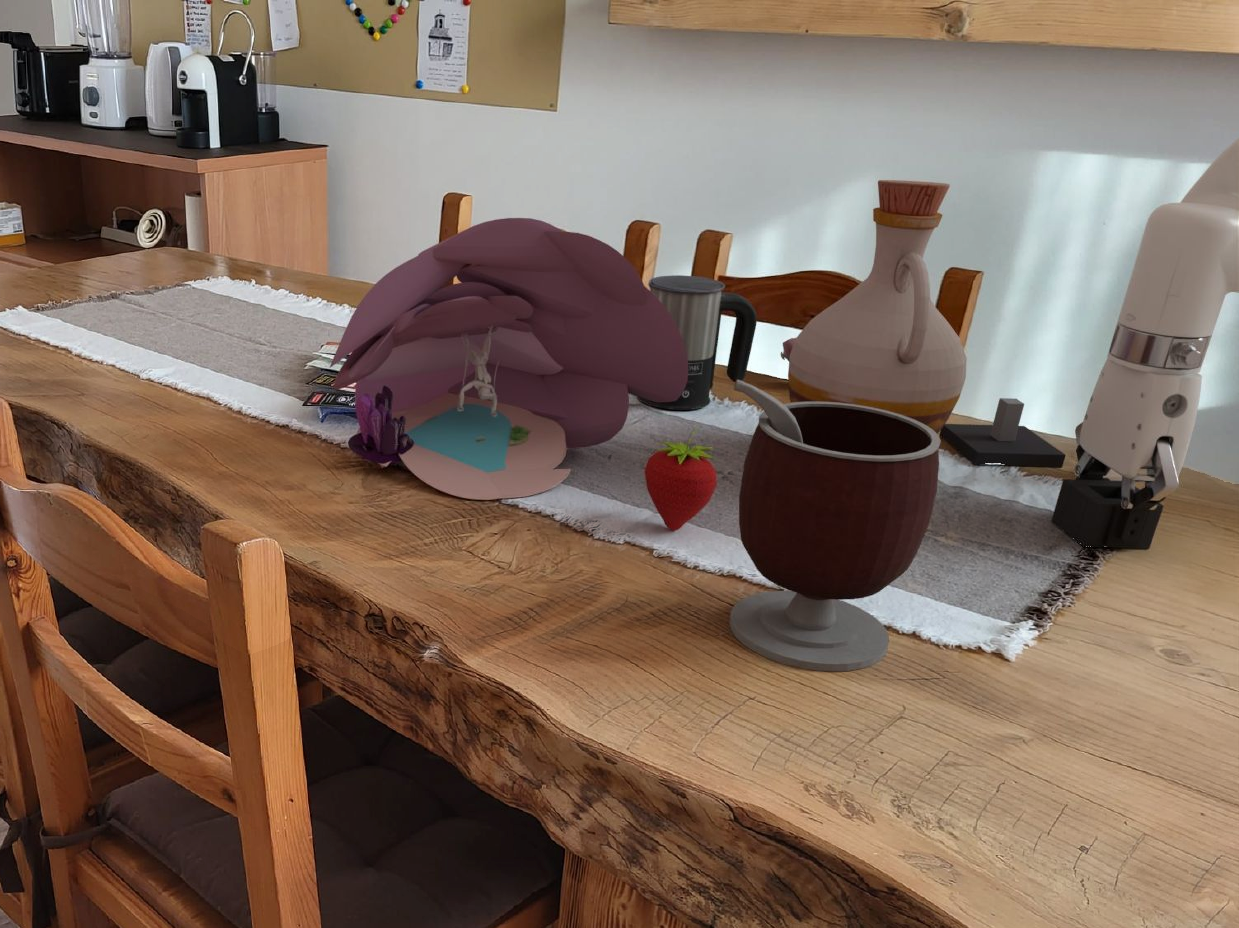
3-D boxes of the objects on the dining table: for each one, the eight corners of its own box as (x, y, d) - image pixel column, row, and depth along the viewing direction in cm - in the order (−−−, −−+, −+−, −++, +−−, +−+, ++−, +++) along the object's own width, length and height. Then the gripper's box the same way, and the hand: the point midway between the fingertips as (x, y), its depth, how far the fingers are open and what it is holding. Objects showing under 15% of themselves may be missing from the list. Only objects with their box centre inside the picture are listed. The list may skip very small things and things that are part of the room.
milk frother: (661, 415, 142) (676, 292, 136) (594, 379, 155) (605, 265, 148) (755, 404, 148) (774, 285, 141) (683, 370, 161) (698, 260, 154)
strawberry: (670, 510, 115) (683, 412, 111) (723, 537, 110) (739, 436, 105) (623, 520, 112) (635, 421, 108) (676, 549, 107) (690, 446, 102)
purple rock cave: (388, 566, 113) (393, 293, 95) (289, 447, 128) (277, 192, 110) (674, 478, 127) (726, 227, 109) (554, 380, 142) (582, 145, 124)
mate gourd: (883, 603, 98) (936, 371, 89) (913, 687, 86) (978, 428, 77) (697, 583, 101) (730, 355, 92) (700, 662, 88) (739, 407, 79)
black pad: (1113, 522, 117) (1127, 480, 114) (1149, 549, 111) (1164, 505, 109) (1050, 521, 116) (1063, 479, 114) (1083, 548, 111) (1097, 504, 109)
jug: (971, 506, 119) (1051, 199, 106) (796, 498, 119) (853, 191, 106) (910, 442, 137) (972, 172, 123) (758, 435, 137) (802, 164, 123)
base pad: (1021, 437, 140) (1034, 389, 137) (1062, 467, 131) (1077, 416, 128) (939, 435, 139) (950, 386, 137) (975, 465, 130) (988, 413, 128)
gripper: (1260, 376, 98) (1191, 569, 106) (1144, 325, 113) (1091, 497, 121) (1172, 374, 97) (1110, 568, 105) (1068, 323, 113) (1021, 495, 121)
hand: (1100, 528), depth 113 cm, fingers closed on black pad, 6 cm apart
